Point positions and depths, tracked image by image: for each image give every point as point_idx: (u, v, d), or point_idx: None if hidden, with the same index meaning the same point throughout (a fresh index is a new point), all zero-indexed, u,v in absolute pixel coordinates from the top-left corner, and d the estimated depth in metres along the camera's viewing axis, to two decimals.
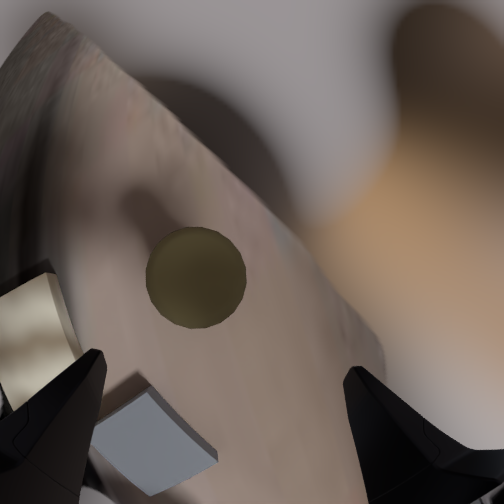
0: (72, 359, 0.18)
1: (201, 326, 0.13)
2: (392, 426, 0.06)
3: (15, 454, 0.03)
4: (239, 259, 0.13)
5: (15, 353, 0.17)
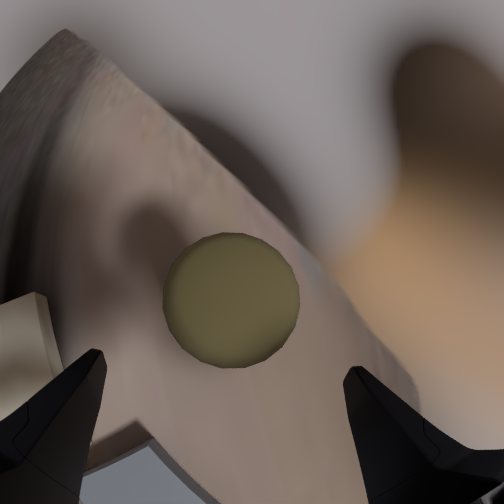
0: None
1: (241, 365, 0.09)
2: (392, 426, 0.06)
3: (15, 454, 0.03)
4: (293, 275, 0.10)
5: None
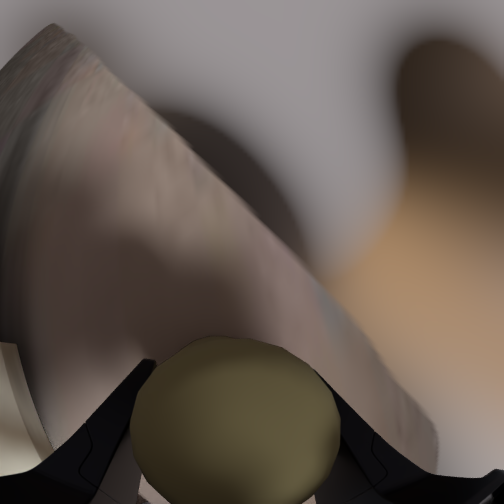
0: (38, 460, 0.08)
1: None
2: None
3: (85, 486, 0.03)
4: (335, 409, 0.05)
5: None
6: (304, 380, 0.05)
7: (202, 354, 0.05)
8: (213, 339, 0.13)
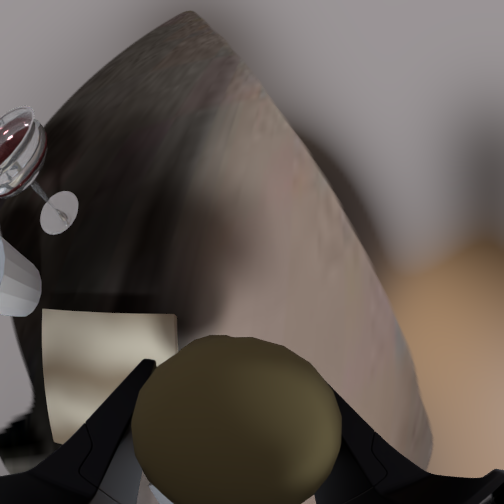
0: None
1: None
2: None
3: (85, 486, 0.03)
4: (336, 407, 0.05)
5: (88, 381, 0.17)
6: (306, 378, 0.05)
7: (204, 352, 0.05)
8: (214, 338, 0.13)
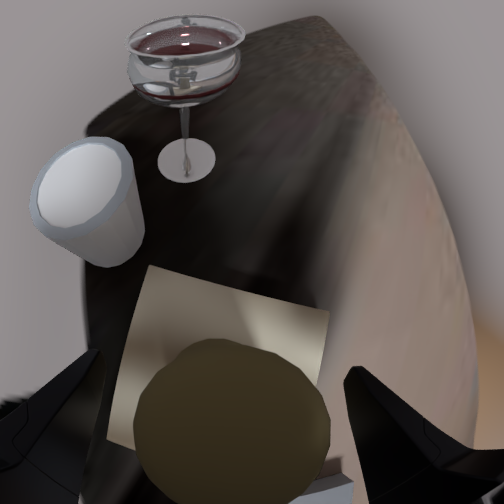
0: None
1: None
2: (392, 426, 0.06)
3: (14, 453, 0.03)
4: (325, 411, 0.06)
5: None
6: (295, 384, 0.06)
7: (200, 360, 0.06)
8: (212, 342, 0.14)
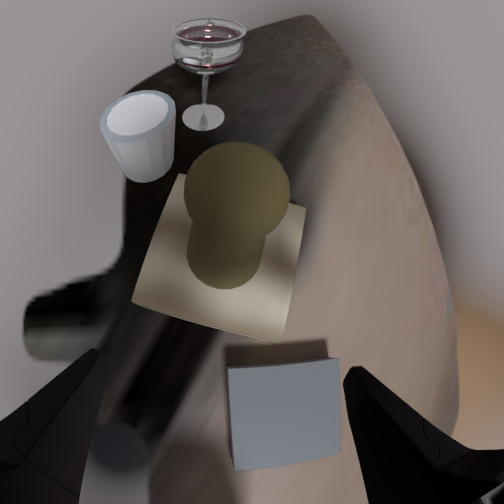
0: (288, 291, 0.22)
1: (244, 230, 0.12)
2: (392, 426, 0.06)
3: (15, 454, 0.03)
4: None
5: None
6: (267, 152, 0.13)
7: None
8: None
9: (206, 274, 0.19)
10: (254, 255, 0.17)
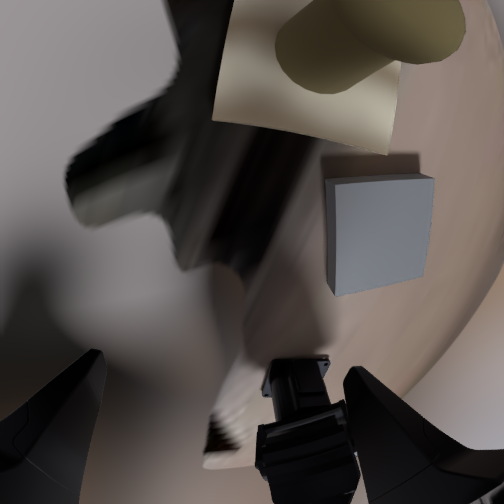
0: (393, 101, 0.15)
1: (430, 55, 0.05)
2: (392, 426, 0.06)
3: (15, 454, 0.03)
4: None
5: None
6: None
7: None
8: None
9: (314, 79, 0.12)
10: None
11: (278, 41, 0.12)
